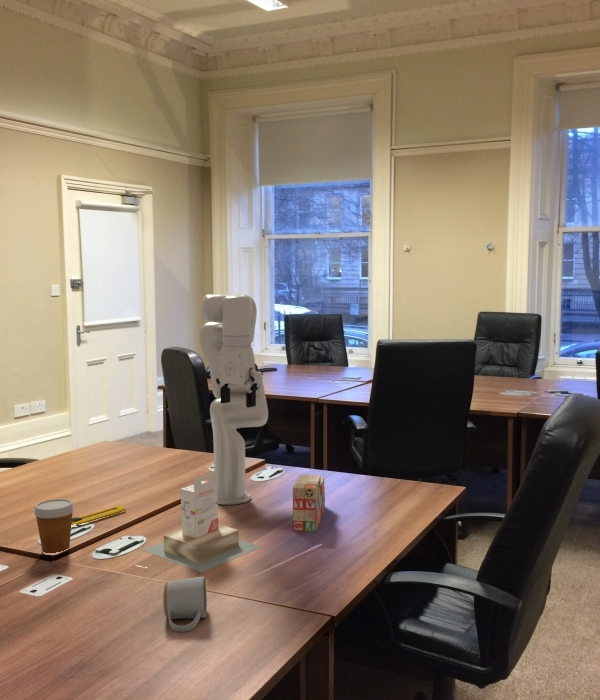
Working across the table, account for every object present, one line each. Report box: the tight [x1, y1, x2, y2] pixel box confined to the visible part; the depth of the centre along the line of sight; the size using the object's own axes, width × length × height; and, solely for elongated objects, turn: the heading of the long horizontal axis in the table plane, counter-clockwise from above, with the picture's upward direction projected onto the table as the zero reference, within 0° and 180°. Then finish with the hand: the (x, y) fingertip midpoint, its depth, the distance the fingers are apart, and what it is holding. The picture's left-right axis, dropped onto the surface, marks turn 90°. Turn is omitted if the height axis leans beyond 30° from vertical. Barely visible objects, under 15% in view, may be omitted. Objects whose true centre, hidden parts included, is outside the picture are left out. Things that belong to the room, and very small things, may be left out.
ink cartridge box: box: [180, 471, 219, 538], centre depth 175 cm, size 9×5×15 cm, turn 145°
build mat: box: [141, 539, 262, 573], centre depth 176 cm, size 22×20×1 cm
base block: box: [163, 523, 240, 563], centre depth 175 cm, size 12×14×4 cm
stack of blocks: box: [292, 474, 326, 533], centre depth 198 cm, size 21×6×12 cm, turn 172°
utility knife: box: [71, 505, 127, 525], centre depth 200 cm, size 7×22×2 cm, turn 140°
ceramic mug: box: [162, 576, 208, 632], centre depth 139 cm, size 11×8×8 cm
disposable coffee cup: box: [33, 498, 75, 553], centre depth 175 cm, size 10×10×12 cm
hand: (238, 404), depth 192 cm, fingers open, 9 cm apart
